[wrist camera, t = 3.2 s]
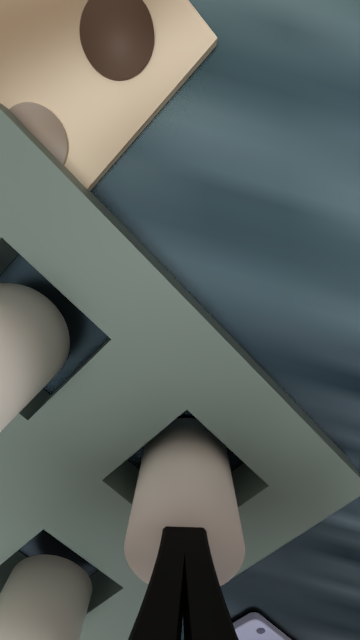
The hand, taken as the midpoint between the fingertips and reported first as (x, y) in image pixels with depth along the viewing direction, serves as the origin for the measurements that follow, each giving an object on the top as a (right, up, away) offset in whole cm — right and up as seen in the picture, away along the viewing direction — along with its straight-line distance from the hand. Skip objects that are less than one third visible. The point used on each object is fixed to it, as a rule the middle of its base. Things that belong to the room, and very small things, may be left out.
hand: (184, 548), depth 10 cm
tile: (-5, +17, 0) cm, 18 cm away
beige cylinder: (0, +1, +4) cm, 4 cm away
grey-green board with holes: (-6, +1, +5) cm, 8 cm away
